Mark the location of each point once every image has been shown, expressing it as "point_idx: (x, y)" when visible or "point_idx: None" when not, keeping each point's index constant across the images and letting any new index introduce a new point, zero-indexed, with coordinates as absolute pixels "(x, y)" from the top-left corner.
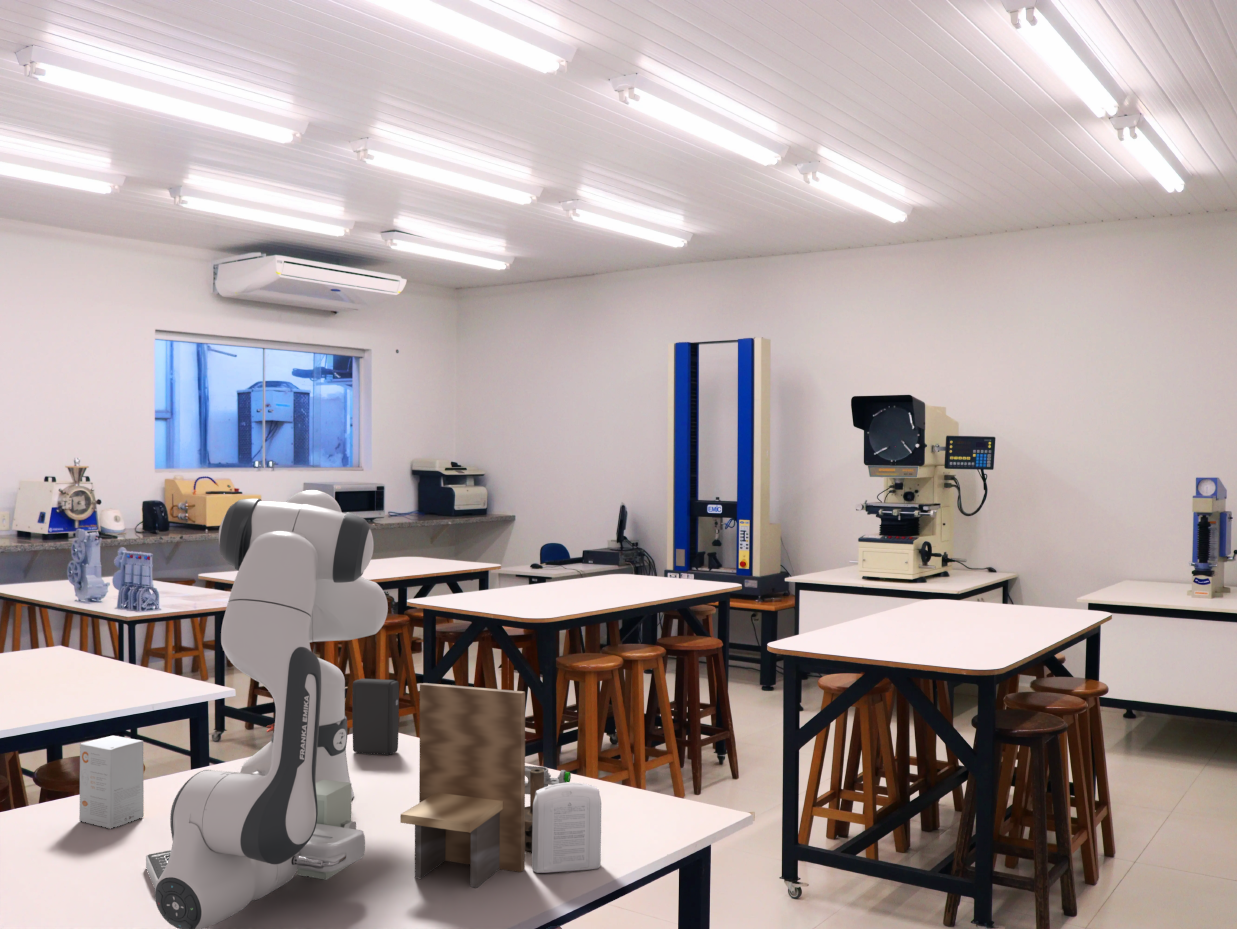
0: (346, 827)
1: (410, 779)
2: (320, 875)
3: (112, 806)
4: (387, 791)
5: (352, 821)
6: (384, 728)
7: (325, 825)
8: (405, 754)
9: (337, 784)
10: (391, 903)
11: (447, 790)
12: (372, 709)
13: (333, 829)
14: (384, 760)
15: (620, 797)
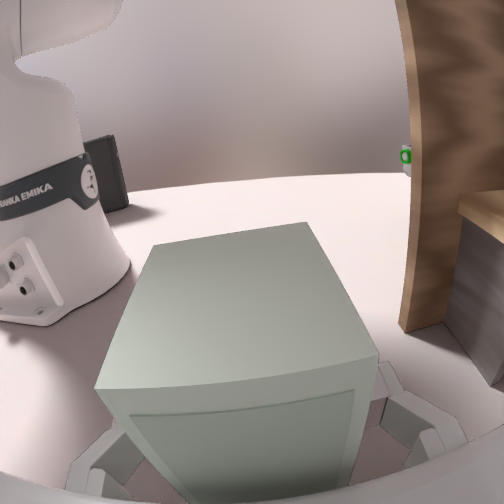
0: (434, 414)
1: (173, 218)
2: None
3: None
4: (163, 238)
5: (383, 366)
6: (113, 182)
7: (408, 488)
8: (138, 202)
9: (261, 245)
10: None
11: (479, 184)
12: (96, 168)
13: (487, 484)
14: (124, 212)
15: (405, 179)
